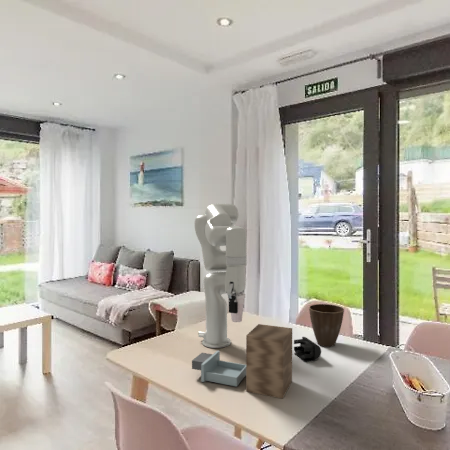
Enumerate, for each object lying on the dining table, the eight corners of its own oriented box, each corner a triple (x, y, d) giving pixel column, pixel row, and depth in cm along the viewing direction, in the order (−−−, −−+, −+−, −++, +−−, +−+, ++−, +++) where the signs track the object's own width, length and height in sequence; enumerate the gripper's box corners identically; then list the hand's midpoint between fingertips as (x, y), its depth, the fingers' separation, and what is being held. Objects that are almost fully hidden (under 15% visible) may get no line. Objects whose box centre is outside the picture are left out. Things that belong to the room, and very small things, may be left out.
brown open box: (246, 391, 123) (246, 335, 122) (258, 375, 135) (258, 324, 134) (282, 398, 118) (283, 340, 118) (292, 381, 130) (292, 328, 130)
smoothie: (247, 319, 139) (247, 281, 139) (243, 324, 133) (242, 284, 133) (230, 317, 141) (230, 280, 141) (225, 322, 135) (225, 283, 134)
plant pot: (304, 338, 173) (304, 304, 172) (335, 337, 174) (336, 303, 174) (315, 350, 158) (315, 313, 157) (349, 349, 160) (349, 312, 159)
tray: (188, 379, 131) (188, 362, 131) (205, 364, 144) (205, 348, 143) (235, 388, 124) (235, 370, 124) (248, 371, 137) (248, 355, 136)
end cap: (321, 360, 148) (321, 344, 148) (305, 363, 146) (305, 345, 146) (308, 351, 157) (308, 335, 157) (293, 353, 155) (293, 337, 155)
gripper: (234, 258, 146) (234, 304, 146) (217, 263, 130) (218, 315, 130) (253, 259, 143) (253, 305, 144) (238, 264, 127) (238, 317, 127)
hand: (236, 310), depth 137 cm, fingers closed on smoothie, 6 cm apart
